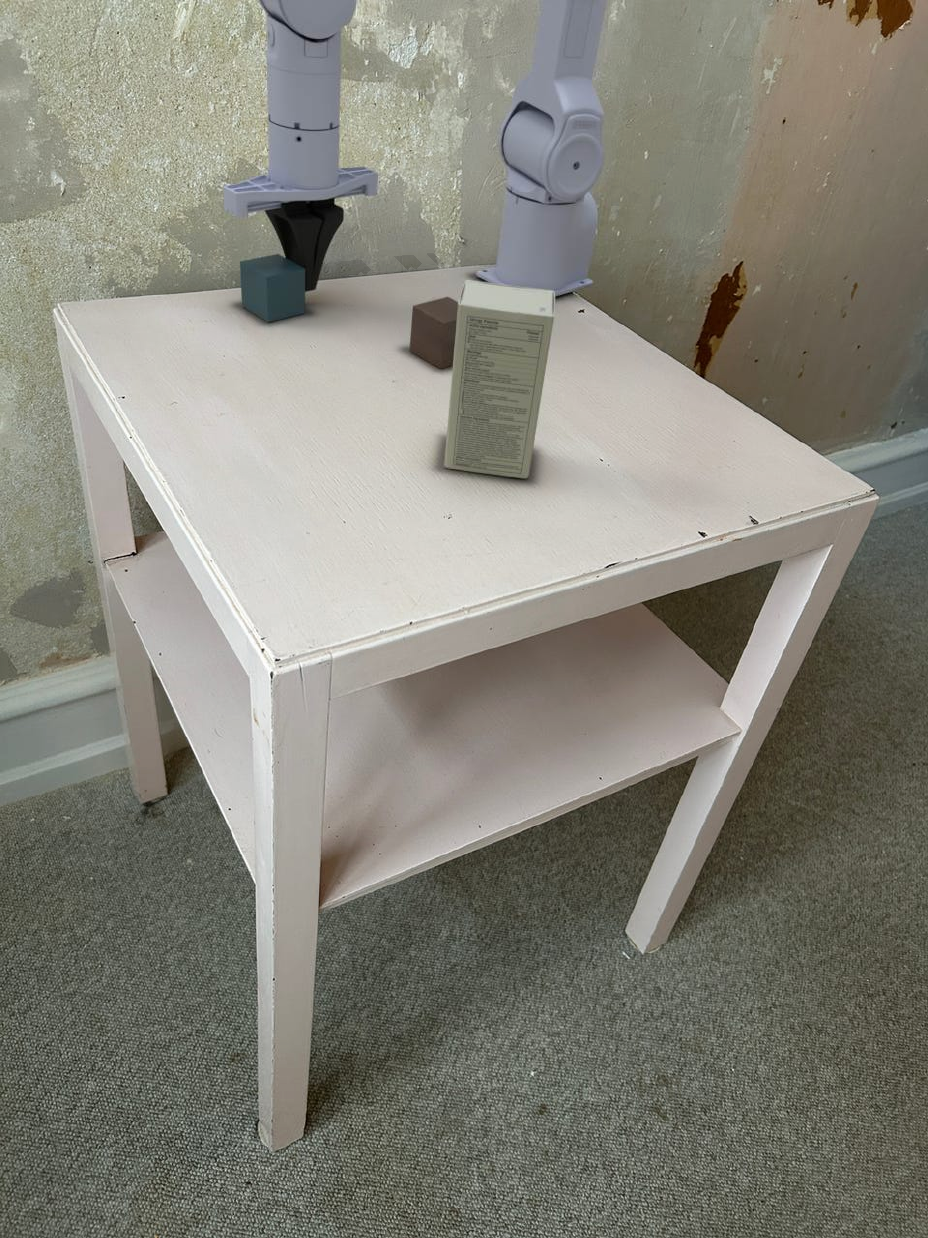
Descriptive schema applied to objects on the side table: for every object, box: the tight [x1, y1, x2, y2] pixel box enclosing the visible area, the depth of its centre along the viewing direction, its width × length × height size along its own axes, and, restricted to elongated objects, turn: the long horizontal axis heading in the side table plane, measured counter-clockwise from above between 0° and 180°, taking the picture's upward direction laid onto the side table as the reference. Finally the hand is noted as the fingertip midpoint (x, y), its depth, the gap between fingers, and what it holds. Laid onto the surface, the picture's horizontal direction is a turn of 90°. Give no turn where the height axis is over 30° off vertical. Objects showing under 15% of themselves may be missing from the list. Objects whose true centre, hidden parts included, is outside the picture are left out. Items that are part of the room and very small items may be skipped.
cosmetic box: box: [443, 279, 556, 479], centre depth 64 cm, size 6×4×12 cm
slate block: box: [239, 253, 306, 323], centre depth 83 cm, size 4×4×4 cm
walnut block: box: [409, 296, 459, 370], centre depth 79 cm, size 4×4×4 cm
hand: (303, 286), depth 85 cm, fingers closed
